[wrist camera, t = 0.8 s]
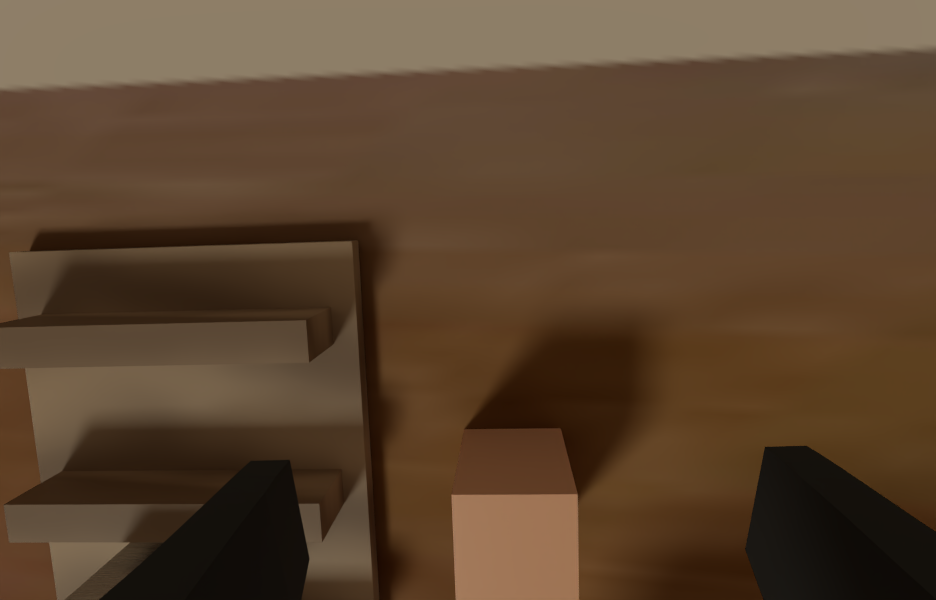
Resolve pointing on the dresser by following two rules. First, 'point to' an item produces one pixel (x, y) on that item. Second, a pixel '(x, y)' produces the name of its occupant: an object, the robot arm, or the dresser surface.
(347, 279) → the cable comb
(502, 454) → the terracotta plug
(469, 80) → the dresser surface
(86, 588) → the grey plug
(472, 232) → the dresser surface
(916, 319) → the dresser surface
